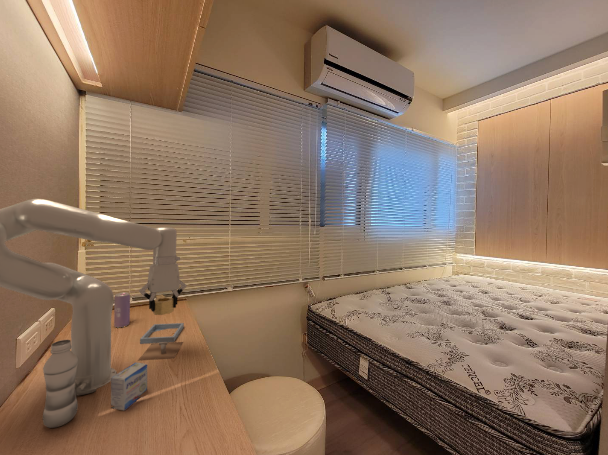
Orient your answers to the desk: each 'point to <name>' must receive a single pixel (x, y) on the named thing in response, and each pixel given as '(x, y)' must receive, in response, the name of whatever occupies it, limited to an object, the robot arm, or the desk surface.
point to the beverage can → (122, 309)
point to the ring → (163, 305)
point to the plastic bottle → (60, 385)
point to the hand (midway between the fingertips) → (163, 308)
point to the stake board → (157, 350)
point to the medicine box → (128, 386)
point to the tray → (158, 327)
